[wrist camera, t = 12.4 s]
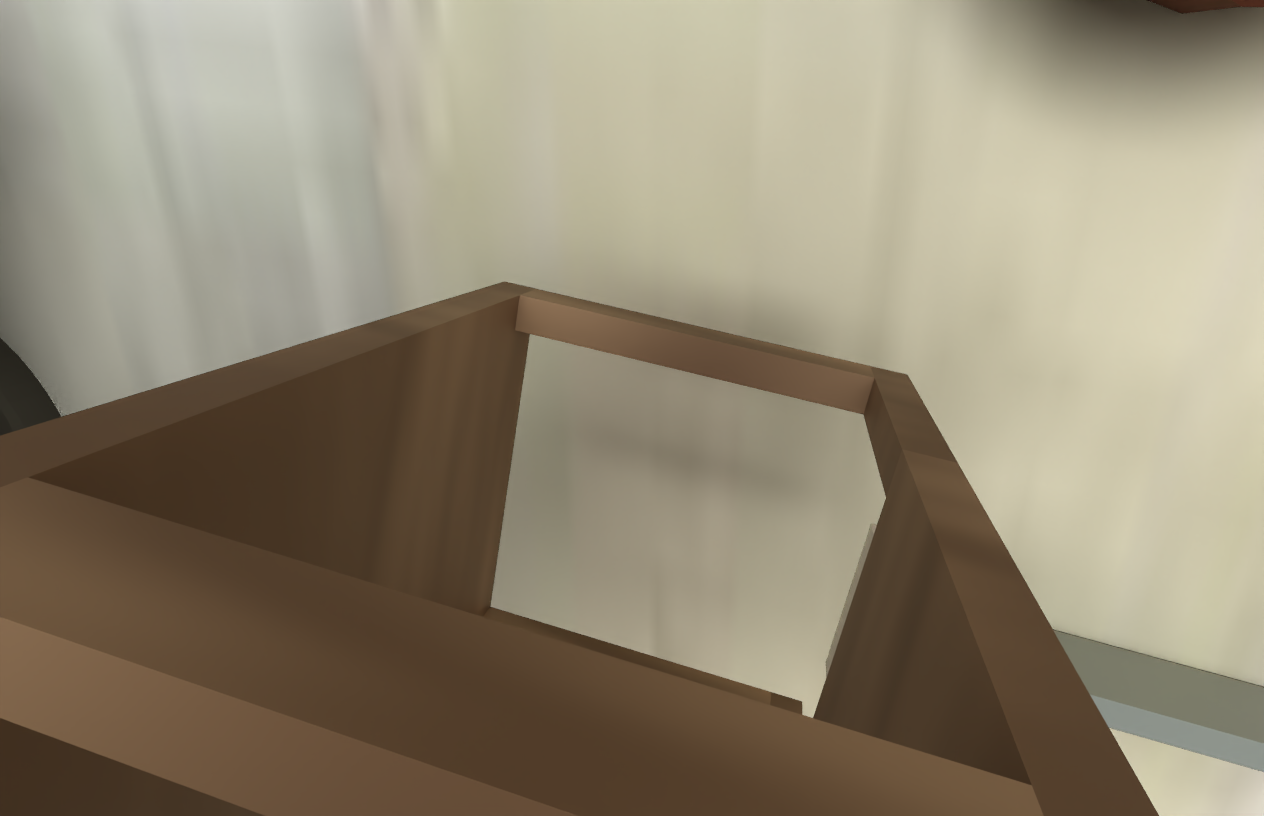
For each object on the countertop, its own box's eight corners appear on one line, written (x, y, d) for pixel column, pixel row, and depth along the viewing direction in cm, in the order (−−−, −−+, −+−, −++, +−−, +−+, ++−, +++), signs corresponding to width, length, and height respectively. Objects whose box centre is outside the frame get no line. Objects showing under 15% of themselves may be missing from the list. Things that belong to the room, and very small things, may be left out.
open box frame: (459, 622, 15) (-88, 1314, 6) (504, 281, 13) (-278, 521, 4) (793, 726, 14) (776, 1770, 5) (906, 374, 12) (1302, 1064, 2)
